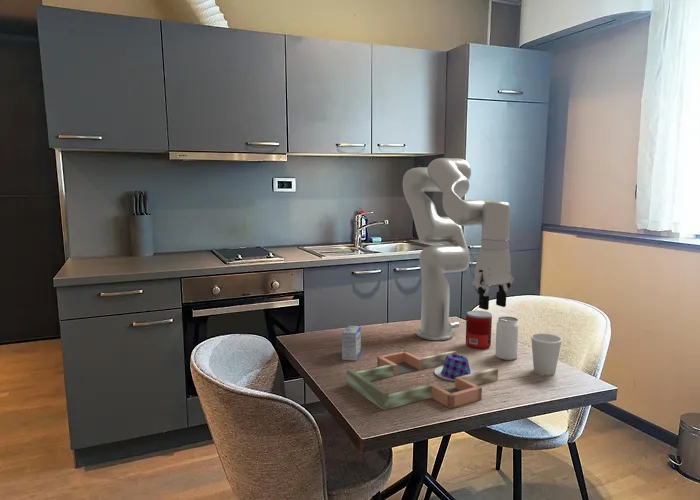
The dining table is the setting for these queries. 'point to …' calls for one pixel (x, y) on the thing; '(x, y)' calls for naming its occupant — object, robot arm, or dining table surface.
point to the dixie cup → (545, 352)
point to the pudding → (454, 367)
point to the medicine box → (351, 343)
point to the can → (507, 338)
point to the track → (387, 401)
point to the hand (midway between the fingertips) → (492, 306)
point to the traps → (449, 398)
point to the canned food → (478, 329)
